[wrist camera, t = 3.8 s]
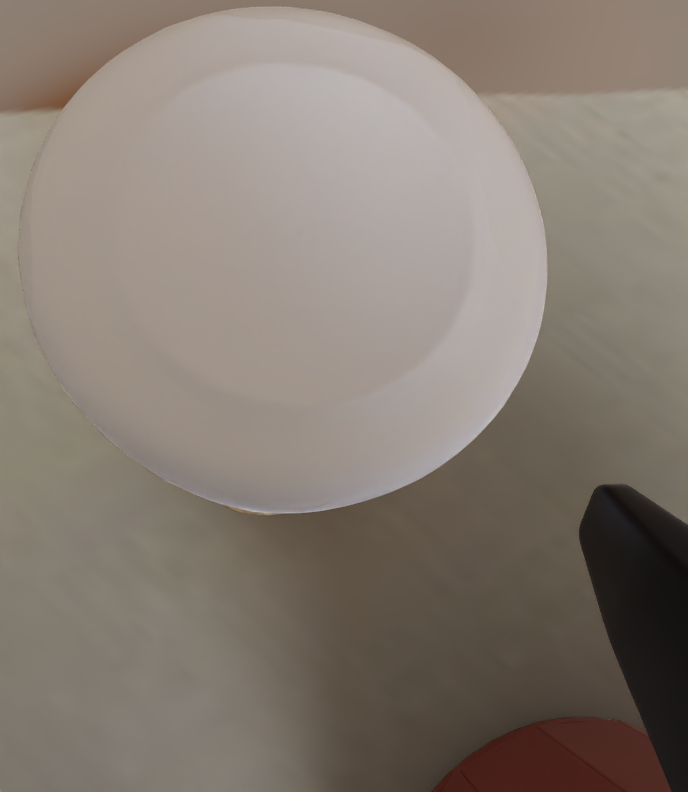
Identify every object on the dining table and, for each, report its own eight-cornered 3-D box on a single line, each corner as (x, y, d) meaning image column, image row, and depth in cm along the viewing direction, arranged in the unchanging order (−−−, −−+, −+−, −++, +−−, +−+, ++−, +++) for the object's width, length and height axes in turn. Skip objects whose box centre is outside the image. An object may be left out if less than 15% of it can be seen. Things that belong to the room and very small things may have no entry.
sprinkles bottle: (153, 471, 18) (-131, 334, 5) (232, 330, 19) (183, -110, 6) (302, 545, 18) (437, 618, 5) (372, 401, 19) (640, 136, 6)
